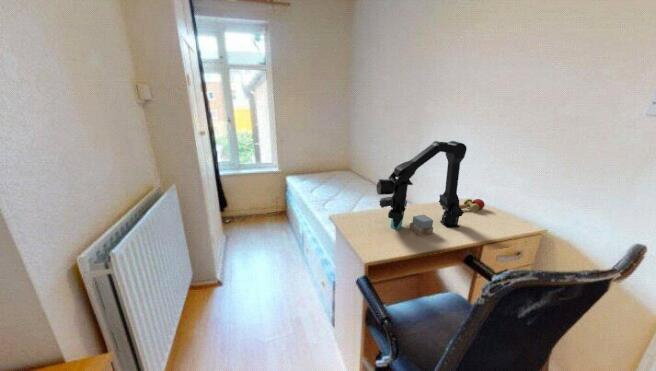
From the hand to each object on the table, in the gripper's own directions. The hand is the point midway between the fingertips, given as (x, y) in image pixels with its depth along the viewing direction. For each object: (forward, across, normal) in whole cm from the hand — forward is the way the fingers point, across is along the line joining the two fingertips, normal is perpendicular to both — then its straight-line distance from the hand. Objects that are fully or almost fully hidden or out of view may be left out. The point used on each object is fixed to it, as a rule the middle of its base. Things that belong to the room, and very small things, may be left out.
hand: (396, 224), depth 119 cm
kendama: (+1, -36, +34) cm, 49 cm away
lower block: (+1, 0, +11) cm, 11 cm away
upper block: (-2, 0, +11) cm, 11 cm away
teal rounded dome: (+1, 0, 0) cm, 1 cm away
